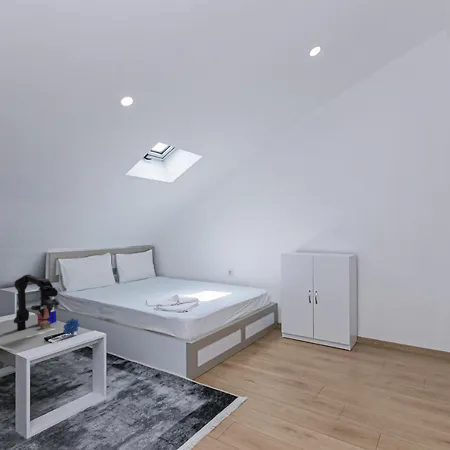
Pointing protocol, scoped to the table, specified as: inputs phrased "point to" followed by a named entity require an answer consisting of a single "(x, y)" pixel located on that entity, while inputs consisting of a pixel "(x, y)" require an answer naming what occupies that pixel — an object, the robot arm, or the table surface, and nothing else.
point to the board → (40, 333)
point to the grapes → (71, 326)
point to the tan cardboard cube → (45, 324)
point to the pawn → (46, 313)
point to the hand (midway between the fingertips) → (45, 316)
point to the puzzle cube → (51, 318)
